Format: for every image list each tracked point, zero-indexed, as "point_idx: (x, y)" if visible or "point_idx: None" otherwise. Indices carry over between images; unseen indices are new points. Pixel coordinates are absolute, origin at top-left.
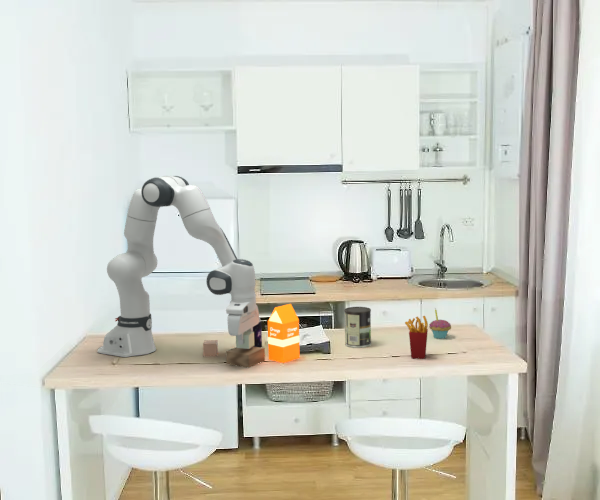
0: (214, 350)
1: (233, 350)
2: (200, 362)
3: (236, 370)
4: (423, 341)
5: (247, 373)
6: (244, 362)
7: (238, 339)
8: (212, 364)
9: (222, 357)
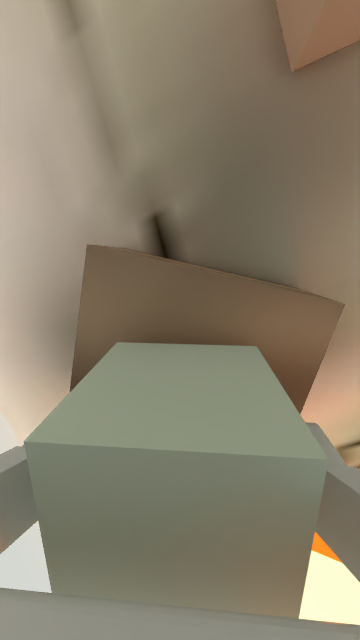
0: (307, 4)
1: (134, 301)
2: (96, 22)
3: (34, 356)
4: None
5: (15, 422)
6: None
7: (13, 455)
8: (83, 155)
9: (263, 142)
